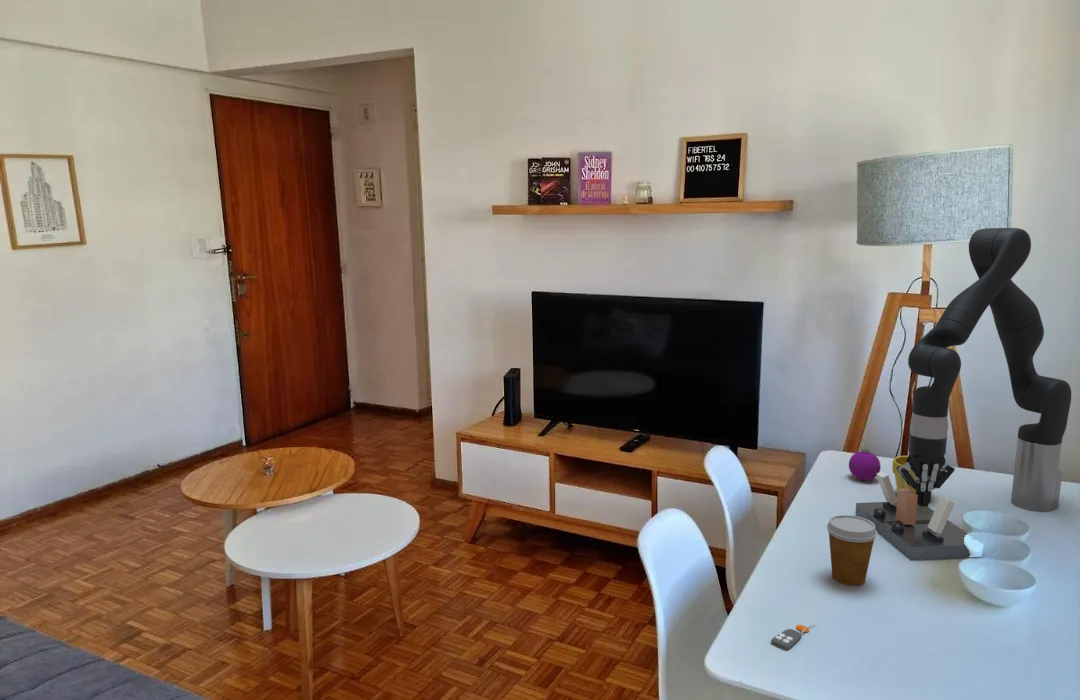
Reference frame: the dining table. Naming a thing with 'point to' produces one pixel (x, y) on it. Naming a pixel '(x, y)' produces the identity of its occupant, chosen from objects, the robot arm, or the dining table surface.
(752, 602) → the dining table surface
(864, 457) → the christmas ornament
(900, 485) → the plant pot
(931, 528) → the lever
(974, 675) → the dining table surface
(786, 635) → the key chain
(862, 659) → the dining table surface
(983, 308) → the robot arm
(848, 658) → the dining table surface
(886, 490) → the lever
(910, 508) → the slider knob
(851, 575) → the disposable coffee cup
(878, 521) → the panel
